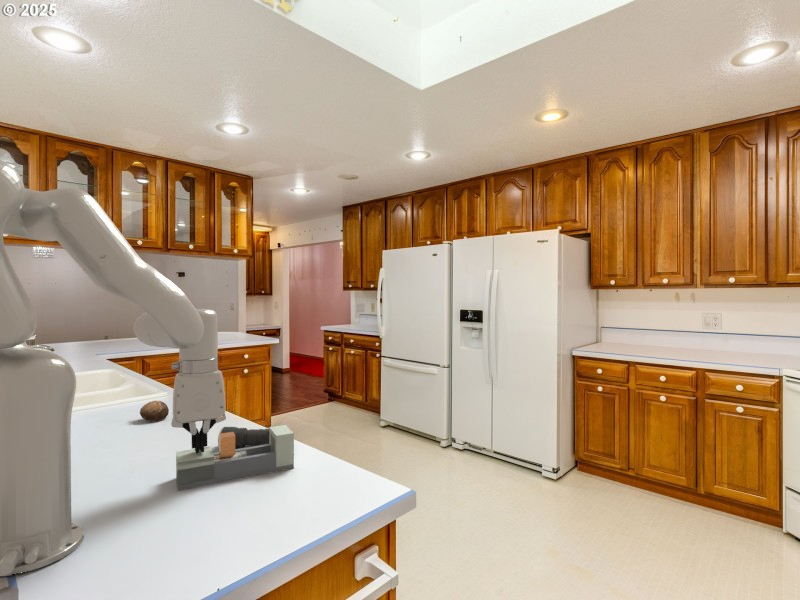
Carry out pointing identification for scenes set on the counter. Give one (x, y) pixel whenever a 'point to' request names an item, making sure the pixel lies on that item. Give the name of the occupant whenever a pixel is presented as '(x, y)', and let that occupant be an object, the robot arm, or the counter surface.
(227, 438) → the hammer
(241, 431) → the flashlight
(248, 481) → the counter surface
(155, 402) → the brown rounded lump
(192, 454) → the toy lathe
